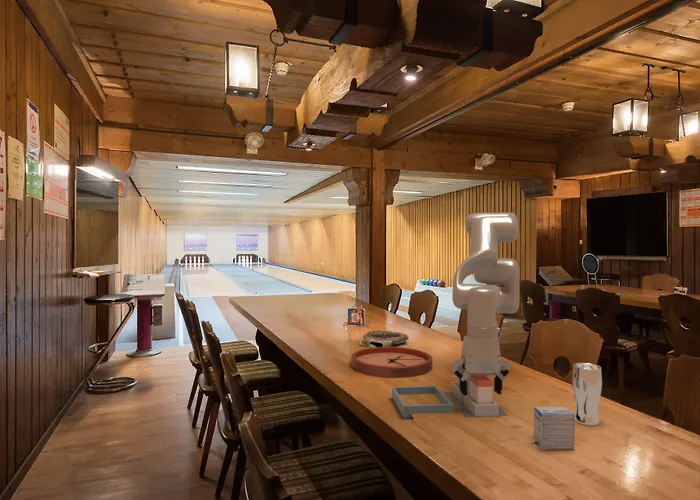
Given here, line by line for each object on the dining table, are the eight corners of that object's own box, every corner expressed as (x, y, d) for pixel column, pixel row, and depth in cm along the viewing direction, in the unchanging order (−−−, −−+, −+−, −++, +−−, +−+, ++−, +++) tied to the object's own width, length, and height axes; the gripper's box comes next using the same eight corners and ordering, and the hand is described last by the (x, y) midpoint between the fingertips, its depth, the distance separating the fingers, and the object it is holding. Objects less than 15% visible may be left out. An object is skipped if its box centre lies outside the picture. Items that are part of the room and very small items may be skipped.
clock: (351, 346, 189) (424, 346, 189) (351, 356, 189) (424, 356, 190) (351, 367, 158) (440, 367, 158) (351, 378, 158) (440, 378, 158)
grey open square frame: (436, 397, 139) (436, 385, 139) (453, 417, 123) (453, 404, 123) (391, 398, 137) (391, 387, 137) (403, 419, 121) (403, 406, 121)
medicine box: (565, 441, 108) (565, 406, 108) (575, 450, 104) (575, 413, 103) (533, 442, 108) (533, 406, 108) (541, 450, 103) (542, 413, 103)
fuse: (469, 392, 138) (469, 364, 138) (476, 399, 132) (476, 369, 132) (456, 393, 138) (456, 364, 138) (463, 400, 132) (463, 369, 132)
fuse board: (479, 395, 140) (479, 381, 140) (508, 421, 120) (508, 404, 120) (442, 396, 139) (442, 382, 139) (465, 422, 119) (465, 406, 119)
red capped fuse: (483, 405, 127) (483, 374, 127) (492, 414, 121) (492, 381, 121) (469, 406, 127) (470, 374, 127) (477, 414, 121) (478, 381, 121)
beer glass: (575, 414, 125) (576, 361, 125) (603, 420, 121) (604, 365, 121) (569, 421, 120) (570, 366, 120) (598, 428, 115) (599, 371, 115)
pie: (358, 337, 227) (358, 327, 227) (412, 338, 226) (412, 328, 226) (357, 350, 199) (357, 339, 199) (418, 352, 198) (418, 340, 198)
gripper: (505, 329, 128) (504, 388, 128) (446, 330, 126) (446, 390, 127) (517, 334, 121) (517, 397, 121) (455, 335, 119) (455, 399, 119)
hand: (480, 393), depth 124 cm, fingers open, 9 cm apart
